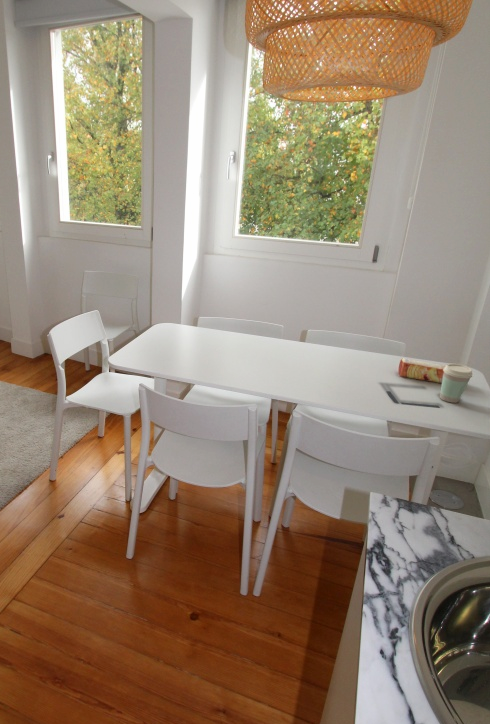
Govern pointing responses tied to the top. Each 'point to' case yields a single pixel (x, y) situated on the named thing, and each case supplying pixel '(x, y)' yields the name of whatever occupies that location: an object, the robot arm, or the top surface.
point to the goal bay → (409, 403)
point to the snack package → (421, 370)
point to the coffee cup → (454, 382)
